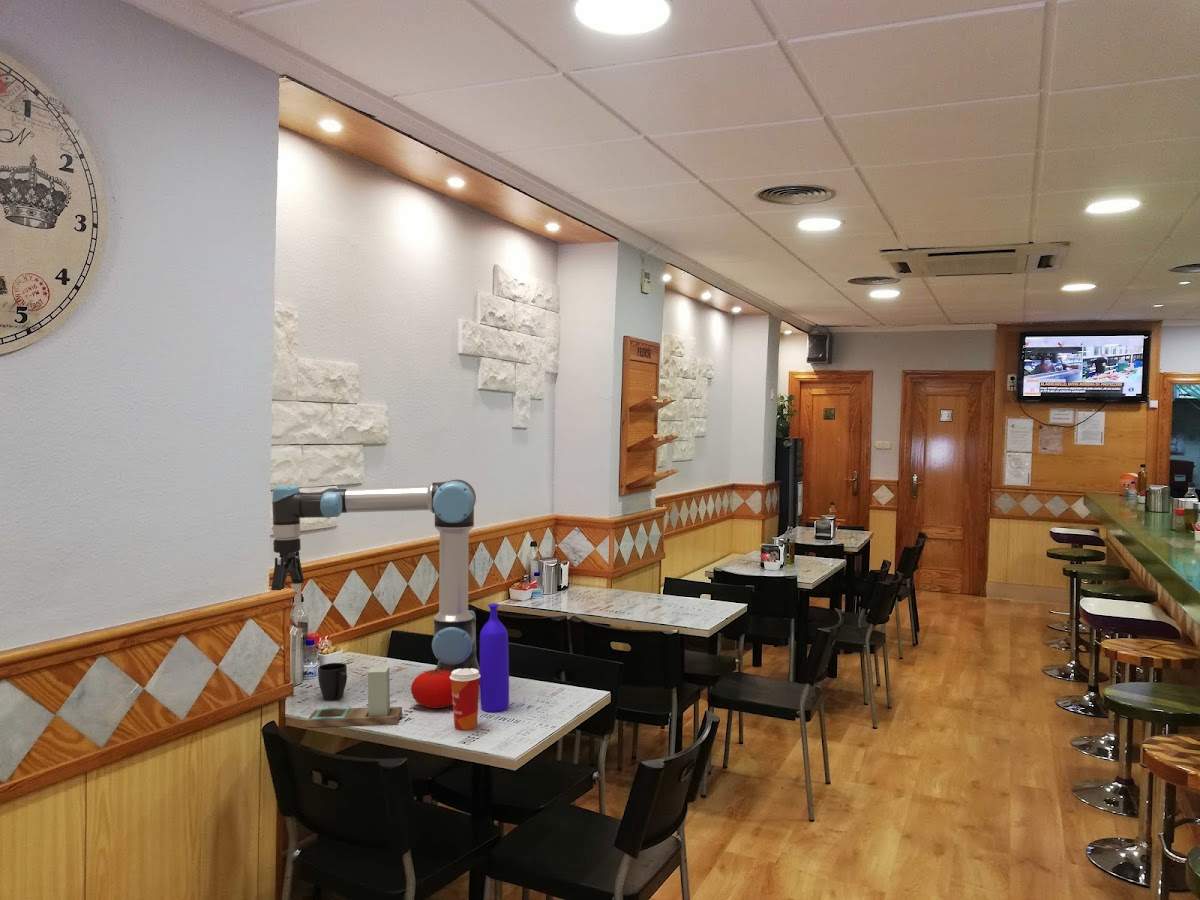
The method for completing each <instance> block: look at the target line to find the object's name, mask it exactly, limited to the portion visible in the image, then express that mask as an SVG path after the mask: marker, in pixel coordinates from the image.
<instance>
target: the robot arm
mask: <svg viewBox="0 0 1200 900" xmlns="http://www.w3.org/2000/svg"><path fill="white" fill-rule="evenodd" d="M476 502H477V495H476V491H475V490H474V488H473V486H472V485H471V484H470V483H469V482H467V481H465V480H463V479H452V480H446V481H441V482H431V483H430V484H429V485H422V486H421V485H420V486H419V485H418V486H415V485H414V486H389V487H388V486H387V487H386V486H385V487H383V486H382V487H381V486H380V487H357V488H354V487H353V488H336V487H329V488H326V489H325V490H321V491H319V492H318V491H315V492H314V491H313V492H311V491H310V492H302V491H300V487H299V486H298V485H282V486H281V485H277V486H275V487H274V488H273V489H272V501H271V504H272V526H273V527H271V531H272V532H273V538H274V540H273V552H274V553H276V554H279V557H275V558H274V569H273V574H272V575H273V576H272V583H271V588H270V591H271V590H281V589H284V590H285V587H286V583H287V580H288V575H289V577H290V579H291V582H292V583H291V584H290V590H291V589H294V590H295V591H296V592H297V593H298V594H296V595H295V597H294V603H293V605H292V606H302V584H304V583H305V580H304V573H303V568H302V564H301V559H300V552H299V551H301V548H302V547H301V546H302V545H301V538H300V537H301V518H302V519H305V518H309V519H310V518H315V519H316V518H318V519H319V518H326V519H330V518H338V517H340V516H341V514H346V513H376V512H377V513H378V512H380V513H381V512H384V513H385V512H407V511H408V512H409V511H410V512H411V511H417V512H418V511H419V512H420V511H429V512H430V513H431V514H434V528H435V529H436V530H437V531H438V532H439V563H438V565H439V566H438V567H439V574H438V575H439V576H438V577H439V582H438V583H439V584H438V585H439V589H438V594H439V595H438V599H439V604H438V605H439V606H438V607H439V608H438V613H436V615H434V616H433V638H432V640H431V650H432V653H433V655H434V656H435V658H436V659H437V660H438V661H437V665H436V667H435V669H443V670H449V671H451V672H452V671H454V670H456V669H461V668H462V669H464V668H468V669H470V668H474V669H477V670H478V671H479V674H480V664H479V662H478V659H477V634H476V632H477V630H476V629H477V628H476V626H477V625H476V623H477V622H476V621H477V618H476V613H475V611H474V610H471V609H470V610H469V548H470V546H469V545H470V543H469V538H470V537H469V536H470V534H469V533H470V531H471V530H472V529H473V528H474V527H475V519H474V518H475V505H476ZM479 686H480V678H479Z"/></svg>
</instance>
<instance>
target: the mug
mask: <svg viewBox="0 0 1200 900" xmlns="http://www.w3.org/2000/svg"><path fill="white" fill-rule="evenodd" d="M347 671H348V669H347V664H345V663H343V662H342V663H341V662H330V663H329V662H328V663H324V664H322V665H319V666H318V668H317V677H318V679H317V680H318V684H319V689H320V692H321V695H322V697H323V698H322V699H323V700H324V701H327V702H330V701H332V702H333V701H338V700H341V699H342V698H343V696H344V693H345V692H344V691H345V689H346V687H347V686H346V685H347V683H348V682H347V681H348V680H347V679H348V672H347Z"/></svg>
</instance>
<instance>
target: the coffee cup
mask: <svg viewBox="0 0 1200 900" xmlns="http://www.w3.org/2000/svg"><path fill="white" fill-rule="evenodd" d="M479 678H480V674H479V671H478V670H477V669H474V668H470V669H468V668H464V669H462V668H461V669H456V670H454V671H452V673H451V676H450V679H451V685H452V699H453V704H452V709H453V710H452V711H453V723H454V728H455V729H456V730H458V729H459V730H458V731H470V730H474V729H476V728H477V727H478V719H479V718H478V714H479V713H478V712H479V695H480V694H479V693H480V685H479Z"/></svg>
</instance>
